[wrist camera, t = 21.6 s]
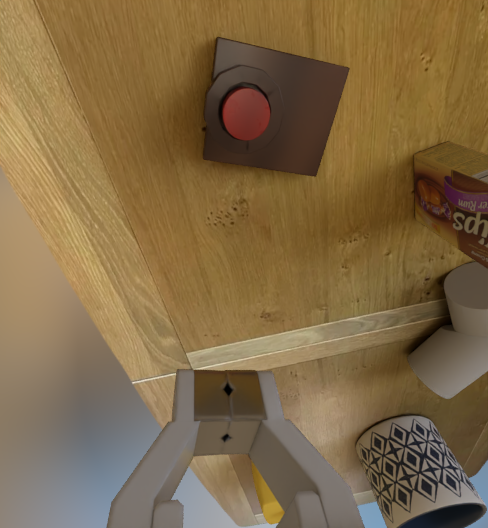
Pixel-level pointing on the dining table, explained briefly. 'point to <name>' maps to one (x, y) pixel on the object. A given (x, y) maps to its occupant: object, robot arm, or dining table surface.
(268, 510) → the teapot
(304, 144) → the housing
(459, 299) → the bent grey cylinder
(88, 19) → the dining table surface
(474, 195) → the candy box
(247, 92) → the button
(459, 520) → the planter
